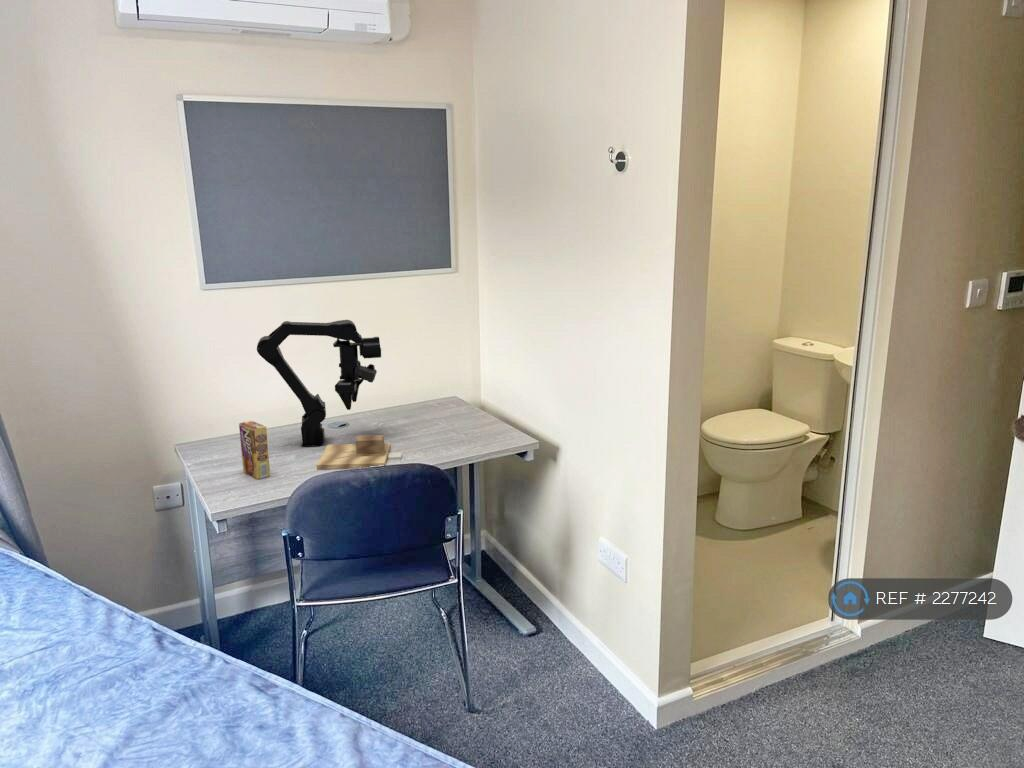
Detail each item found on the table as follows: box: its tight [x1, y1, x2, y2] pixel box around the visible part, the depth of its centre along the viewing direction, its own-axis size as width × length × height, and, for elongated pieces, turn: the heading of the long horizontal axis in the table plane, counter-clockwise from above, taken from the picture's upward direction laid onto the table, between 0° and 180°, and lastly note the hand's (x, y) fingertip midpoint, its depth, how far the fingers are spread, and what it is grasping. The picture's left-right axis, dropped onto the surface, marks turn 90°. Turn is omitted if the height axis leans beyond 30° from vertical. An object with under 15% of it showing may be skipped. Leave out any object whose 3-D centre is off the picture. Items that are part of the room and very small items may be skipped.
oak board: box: [316, 442, 391, 471], centre depth 232 cm, size 20×18×2 cm
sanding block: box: [355, 434, 385, 456], centre depth 231 cm, size 8×5×5 cm, turn 93°
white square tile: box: [387, 451, 403, 461], centre depth 233 cm, size 4×4×1 cm
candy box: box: [238, 420, 271, 480], centre depth 218 cm, size 9×4×15 cm, turn 47°
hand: (351, 405), depth 246 cm, fingers open, 9 cm apart
